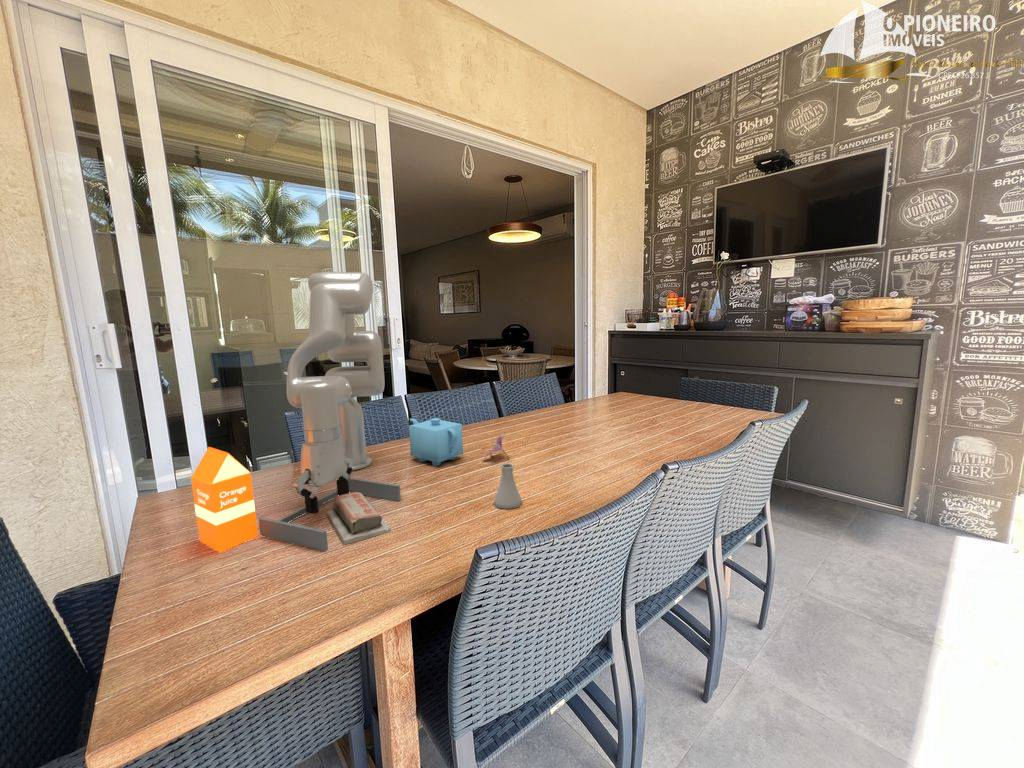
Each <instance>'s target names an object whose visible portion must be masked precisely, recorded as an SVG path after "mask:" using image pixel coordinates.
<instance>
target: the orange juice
mask: <svg viewBox="0 0 1024 768" xmlns="http://www.w3.org/2000/svg"><path fill="white" fill-rule="evenodd" d="M199 461H200V462H199V463H198V465H197V467H196V468H195V470H194V472H193V474H192V475H191V476H190V480H191V481H190V482H191V487H192V495H193V500H194V510H195V511H194V512H195V516H196V523H197V528H198V538H199V542H200V541H201V542H202V543H201V542H200V543H201V544H203V543H204V544H206V545H208V546H210V547H211V548H213V549H214V550H213V549H212V550H213V551H215V550H216V551H215V552H217V551H218V552H222V553H224V552H226V551H225V550H227V549H229V550H231V549H233V548H232V547H234V546H236V547H238V546H240V545H239V544H241V543H243V544H245V543H246V542H245V541H248V540H250V539H252V538H255V537H256V536H258V537H259V535H258V534H259V533H258V524H257V523H258V522H257V516H256V506H255V499H254V498H255V497H254V490H253V483H252V480H253V479H252V473H251V471H249V469H247V468H246V467H245V466H244V465H243V464H241V463H240V461H238V460H237V459H235V458H234V456H232V455H231V454H230V453H229V452H227V451H224V450H220V449H217V448H214V447H211V446H208V447H207V449H206V451H205V453H204V455H203V456H202V457H201V460H199ZM255 539H256V538H255ZM252 540H253V539H252ZM250 541H251V540H250ZM244 542H245V543H244ZM248 542H249V541H248ZM204 544H203V545H204ZM206 545H205V546H206ZM237 545H238V546H237ZM241 545H242V544H241ZM208 546H207V547H208ZM210 547H209V548H210ZM211 548H210V549H211ZM230 548H231V549H230ZM234 548H235V547H234ZM223 551H224V552H223ZM227 551H228V550H227ZM218 552H217V553H218Z"/></svg>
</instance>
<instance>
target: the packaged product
mask: <svg viewBox="0 0 1024 768" xmlns="http://www.w3.org/2000/svg"><path fill="white" fill-rule="evenodd" d="M325 512H326V516H329V517H328V518H329V520H330V522H331V525H332V524H333V525H332V527H333V526H334V527H333V529H334V531H335V530H336V531H335V532H336V534H337V536H338V537H339V539H340V541H342V543H343V544H344V545H345V546H347V545H351V544H353V543H356V542H357V543H358V542H360V541H364V540H367V539H371V538H374V537H377V536H379V535H384V534H387V533H390V532H391V527H390V526H389V524H388V523H387V522H386V521H385V520H384V518H383V516H381V514H380V513H379V512H378V510H377V509H376V508H374V506H373V504H371V503H370V501H369V500H368V499H367V497H366V496H364V495H363V494H362V493H360V492H352V493H348V494H343V495H340V496H336V497H334V499H333V505H332V508H328V509H325ZM346 544H347V545H346Z"/></svg>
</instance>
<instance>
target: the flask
mask: <svg viewBox="0 0 1024 768" xmlns="http://www.w3.org/2000/svg"><path fill="white" fill-rule="evenodd" d="M500 468H501V478H500V482H499V486H498V489H497V492H496V495H495V497H494V500H493V504H494V505H495V507H496V508H497V509H504V510H505V509H508V510H510V509H514V508H515V509H516V508H520V507H521V506H522V503H523V500H522V497H521V496H520V495H521V494H520V491H519V490H518V487H517V484H516V481H515V479H514V472H513V469H514V464H513V463H507V462H505V463H502V464H500Z"/></svg>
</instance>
